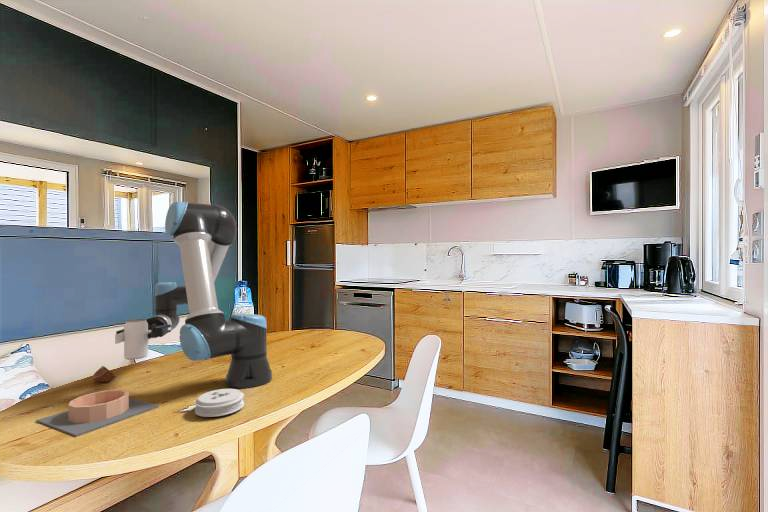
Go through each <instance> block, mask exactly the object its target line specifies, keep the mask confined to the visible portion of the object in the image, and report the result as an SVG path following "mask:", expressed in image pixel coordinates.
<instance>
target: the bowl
mask: <svg viewBox="0 0 768 512" xmlns="http://www.w3.org/2000/svg"><path fill="white" fill-rule="evenodd" d="M129 398H130V391H129V390H125V389H106V390H100V391H95V392H91V393H87V394H84V395H81V396H78V397H76V398H74V399H72V400H70V401H69V403H68V405H67V406H68V407H67V408H68V410H67V411H68V421H71V422H74V423H88V422H94V421H100V420H105V419H108V418H111V417H114V416H117V415H120V414H122V413H123V412H125V411H127V410H128V409H129Z"/></svg>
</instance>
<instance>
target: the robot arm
mask: <svg viewBox="0 0 768 512" xmlns="http://www.w3.org/2000/svg"><path fill="white" fill-rule="evenodd" d="M166 212H167V213H166V215H165V223H164V229H165V230H164V231H165V233H166V235H167V236H170V237H173V242H174V244H175V245H177V246H179V249H180V257H181V262H182V263H181V265H182V271H183V279H184V284H185V285H184V286H183V285H181V286H180V285H179V286H178V285H177V284H178V283H176V282H175V281H174V282H172V281H169V282H168V281H167V282H157V283H156V284H155V286H154V295H153V296H154V316H152V317H148V318H146V321H147V323H148V331H146V332H143V333H141V342H145V341H147V340H148V341H149V340H150V339H156V338H162V337H164V336H166V335H167V334H168V333H171V332H172V331H173V330H174V329H175V328H176V327H177V326H178V325H179V324H180V320H181V319H180V315H179V314H178V306H182V305H187V307H188V313H189V314H188V316H187V317H186V318H185V320H184V325H182V326H181V327H180V330H179V343H180V347H181V349H182V351H183V354H184V355H185V356H186V358H187V359H189V360H190V361H192V362H197V361H198V362H199V361H207V360H210V359H215V358H219V357H224V356H229V355H230V363H229V367H228V370H227V374H226V376H225V385H226V386H227V387H231V388H233V389H236V388H237V389H246V388H255V387H259V386H263V385H265V384H267V383H270V382H271V381H272V380H273V372H272V369H271V368H270V367H271V366H270V363H269V359H268V356H267V354H268V352H267V350H268V349H267V348H268V347H267V345H268V344H267V342H268V341H267V339H268V338H267V329H268V326H267V318H266V317H265V316H264V315H261V314H256V313H255V314H253V313H232V314H231V315H230V319H229V318H228V319H226V318H225V313H224V312H223V311H221V309H219V304H218V299H217V298H218V297H217V293H216V286H215V282H216V279H217V276H218V275H219V272H220V269H221V268H222V267H221V266H222V265H223V263H224V260H225V257H226V255H227V252H228V251H229V247H230V246H232V245H234V243H235V240H236V238H237V233H238V232H237V231H238V228H237V227H238V226H237V221H236V219H235V217H234V215H233V214H232V213H231V212H230V211H229V209H227V208H226V207H224V206H222V205H218V204H207V203H197V202H196V203H195V202H188V201H174V202H172V203H171V204H170V206H169V208H168V209H167V211H166ZM115 333H116V334H115V335H114V338H115V340H114V341H115V343H114V344H115V345H118V344H120V343H124V328H123V329H119V330H117V331H115Z"/></svg>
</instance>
